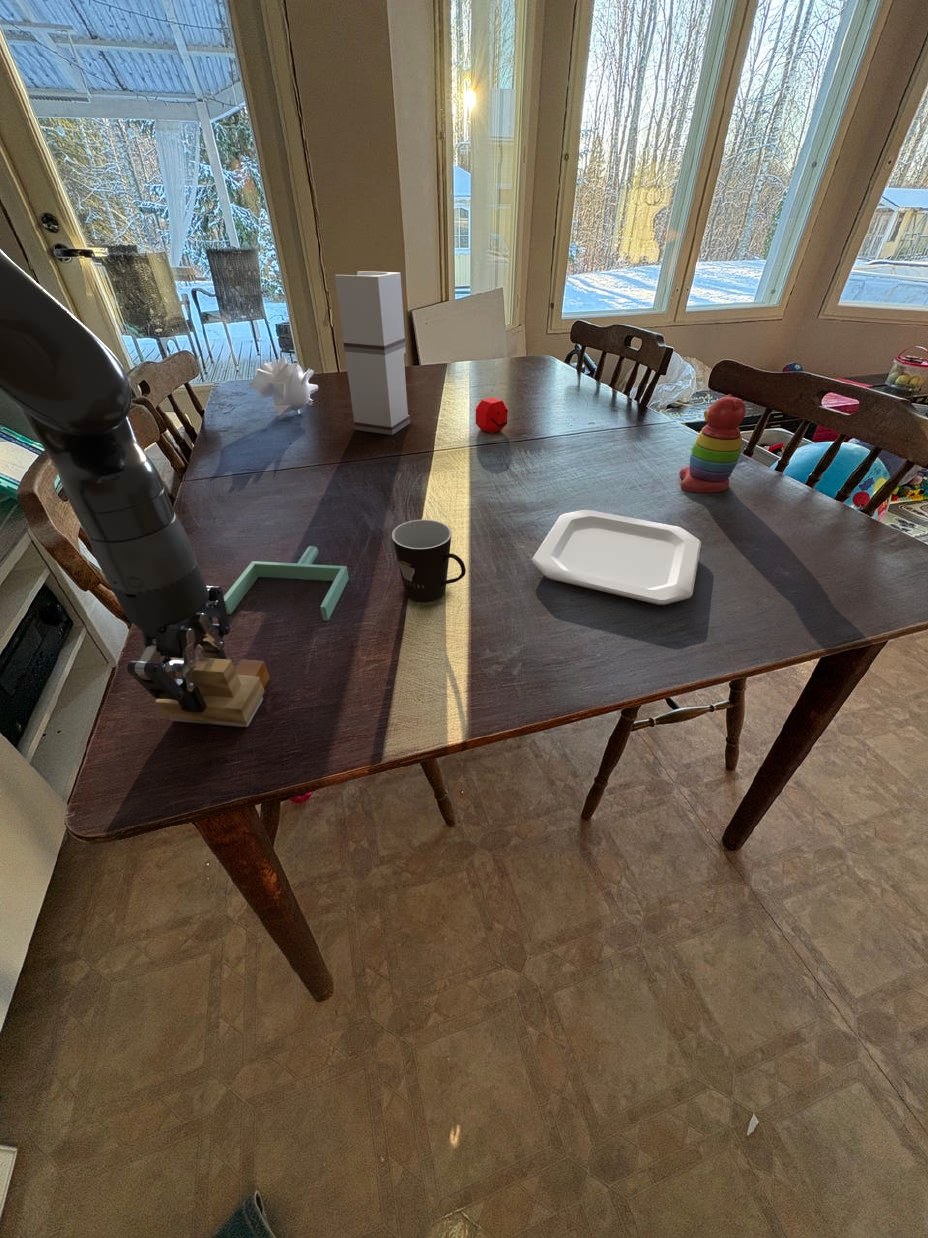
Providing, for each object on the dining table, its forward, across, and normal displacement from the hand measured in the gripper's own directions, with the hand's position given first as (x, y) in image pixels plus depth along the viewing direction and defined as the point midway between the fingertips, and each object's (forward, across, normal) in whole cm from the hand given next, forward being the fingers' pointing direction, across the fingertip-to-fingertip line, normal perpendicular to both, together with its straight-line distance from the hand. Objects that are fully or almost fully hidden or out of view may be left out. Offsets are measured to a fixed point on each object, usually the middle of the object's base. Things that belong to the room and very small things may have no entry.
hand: (209, 690), depth 58 cm
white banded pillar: (+4, -103, -4) cm, 103 cm away
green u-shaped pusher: (+4, -26, 0) cm, 27 cm away
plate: (+4, -39, +51) cm, 64 cm away
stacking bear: (+4, -73, +74) cm, 104 cm away
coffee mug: (+4, -26, +21) cm, 33 cm away
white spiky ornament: (+4, -112, -35) cm, 118 cm away
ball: (+4, -103, +26) cm, 106 cm away
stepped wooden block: (+3, 0, 0) cm, 3 cm away
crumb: (+4, -4, +2) cm, 6 cm away
